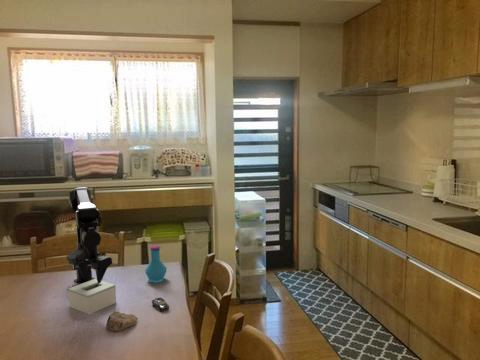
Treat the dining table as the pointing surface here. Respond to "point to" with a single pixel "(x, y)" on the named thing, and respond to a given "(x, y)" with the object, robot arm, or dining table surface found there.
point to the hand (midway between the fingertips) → (91, 280)
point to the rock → (120, 321)
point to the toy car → (160, 304)
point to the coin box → (92, 296)
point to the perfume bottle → (155, 266)
